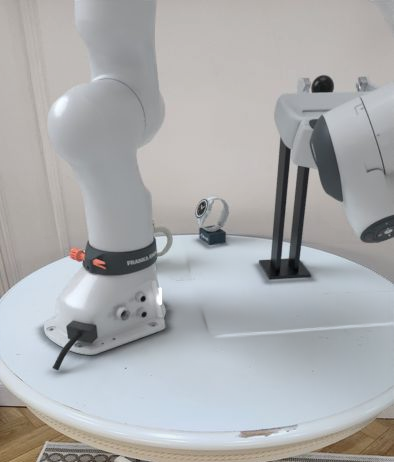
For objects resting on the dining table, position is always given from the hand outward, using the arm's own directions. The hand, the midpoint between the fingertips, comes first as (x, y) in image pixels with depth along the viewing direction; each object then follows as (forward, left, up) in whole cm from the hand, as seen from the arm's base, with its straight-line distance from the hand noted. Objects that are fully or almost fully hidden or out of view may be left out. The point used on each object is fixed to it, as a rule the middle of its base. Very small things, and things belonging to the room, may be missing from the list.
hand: (332, 81), depth 81 cm
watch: (+13, +34, -39) cm, 53 cm away
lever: (+5, +6, -7) cm, 11 cm away
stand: (+10, +11, -38) cm, 41 cm away
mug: (-7, +36, -39) cm, 54 cm away
